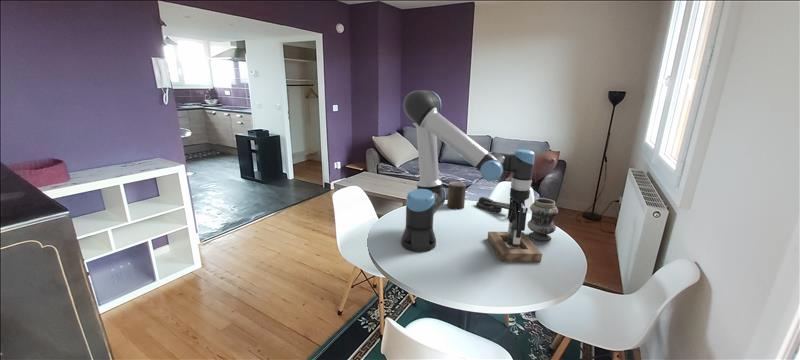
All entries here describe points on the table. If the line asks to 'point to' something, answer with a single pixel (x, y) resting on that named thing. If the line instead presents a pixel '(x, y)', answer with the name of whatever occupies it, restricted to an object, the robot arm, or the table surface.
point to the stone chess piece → (512, 235)
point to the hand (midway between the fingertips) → (513, 240)
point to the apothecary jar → (542, 219)
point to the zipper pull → (491, 205)
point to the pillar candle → (456, 195)
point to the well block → (514, 248)
